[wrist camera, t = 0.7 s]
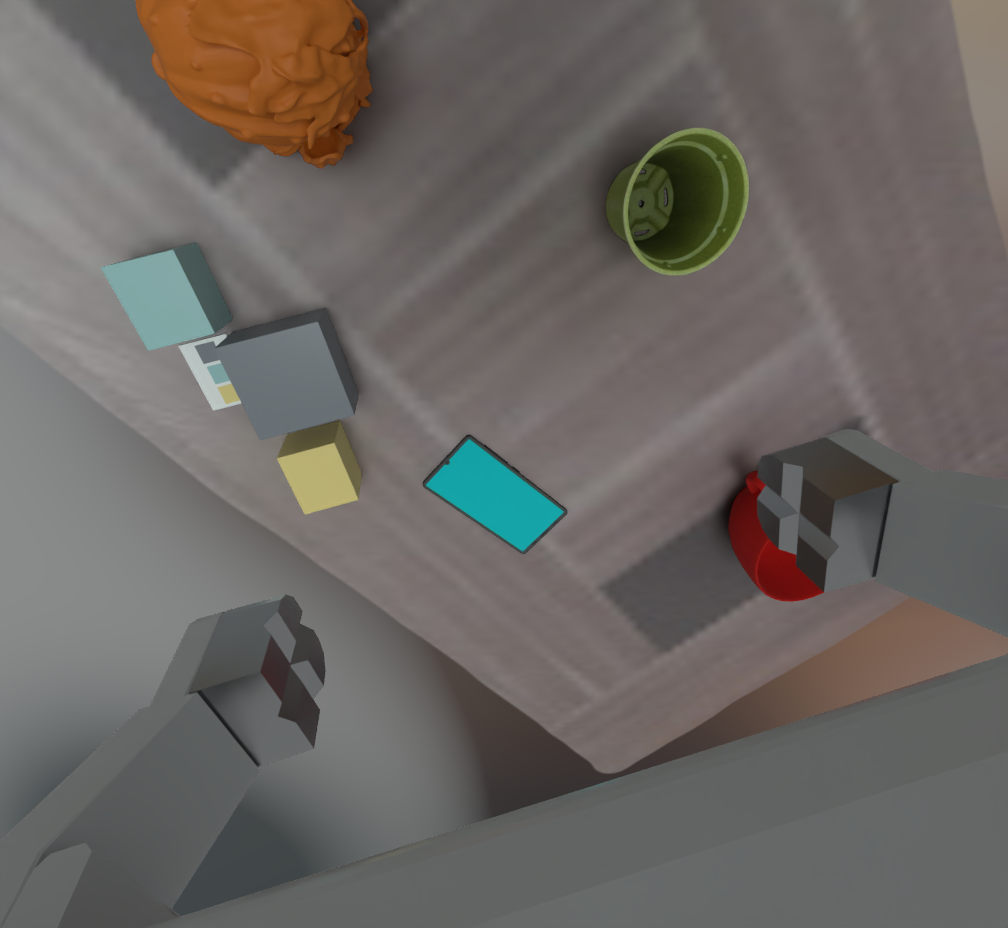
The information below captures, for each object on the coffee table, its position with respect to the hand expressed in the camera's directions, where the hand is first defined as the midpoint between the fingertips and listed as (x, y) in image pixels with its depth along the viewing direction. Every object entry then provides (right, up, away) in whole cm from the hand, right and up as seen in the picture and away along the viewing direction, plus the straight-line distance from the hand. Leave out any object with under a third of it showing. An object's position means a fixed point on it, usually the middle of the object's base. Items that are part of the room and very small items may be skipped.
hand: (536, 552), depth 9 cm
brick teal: (-26, +15, +33) cm, 45 cm away
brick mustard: (-18, +2, +42) cm, 45 cm away
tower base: (-19, +10, +37) cm, 43 cm away
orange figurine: (-15, +28, +28) cm, 43 cm away
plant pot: (+11, +24, +36) cm, 44 cm away
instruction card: (-25, +9, +36) cm, 45 cm away
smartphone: (-1, -2, +48) cm, 48 cm away
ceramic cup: (+29, -2, +53) cm, 61 cm away
